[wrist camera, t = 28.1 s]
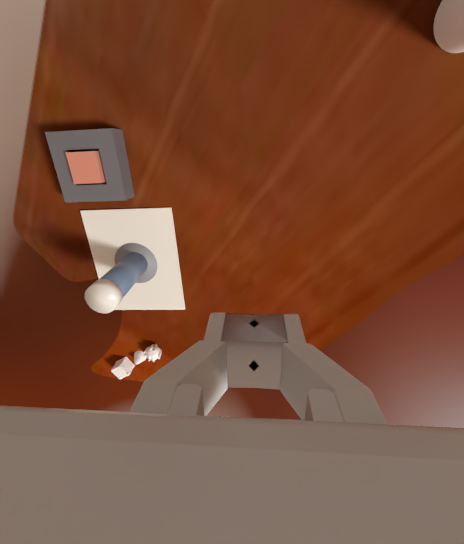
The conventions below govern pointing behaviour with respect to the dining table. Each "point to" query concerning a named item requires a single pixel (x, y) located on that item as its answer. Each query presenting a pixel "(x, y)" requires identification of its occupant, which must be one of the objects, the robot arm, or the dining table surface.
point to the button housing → (111, 157)
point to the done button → (86, 167)
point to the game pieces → (135, 361)
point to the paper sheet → (146, 241)
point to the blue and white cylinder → (116, 283)
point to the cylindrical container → (450, 26)
